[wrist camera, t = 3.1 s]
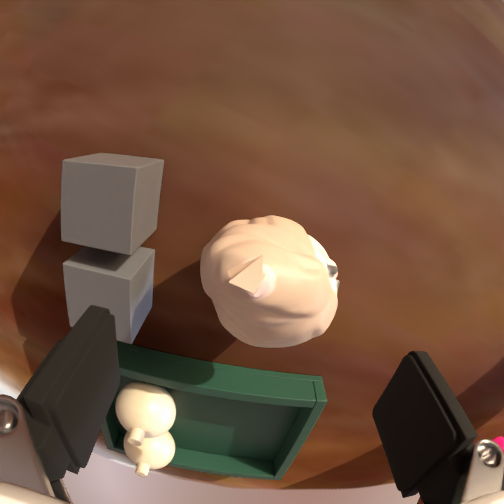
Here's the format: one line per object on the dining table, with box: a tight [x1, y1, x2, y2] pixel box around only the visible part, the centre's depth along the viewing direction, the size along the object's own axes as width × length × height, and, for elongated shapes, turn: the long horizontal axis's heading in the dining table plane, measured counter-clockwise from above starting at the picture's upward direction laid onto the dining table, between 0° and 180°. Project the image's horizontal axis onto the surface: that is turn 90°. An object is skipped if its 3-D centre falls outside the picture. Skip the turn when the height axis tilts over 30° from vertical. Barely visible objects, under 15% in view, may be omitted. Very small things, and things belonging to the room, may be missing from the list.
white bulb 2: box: [124, 431, 175, 477], centre depth 20 cm, size 4×4×5 cm
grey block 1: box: [61, 153, 164, 255], centre depth 14 cm, size 4×4×4 cm
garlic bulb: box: [200, 215, 340, 348], centre depth 14 cm, size 7×6×8 cm
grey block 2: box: [63, 246, 155, 344], centre depth 16 cm, size 4×4×4 cm
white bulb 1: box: [116, 380, 176, 446], centre depth 18 cm, size 4×4×5 cm
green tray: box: [101, 341, 327, 480], centre depth 21 cm, size 17×13×3 cm
